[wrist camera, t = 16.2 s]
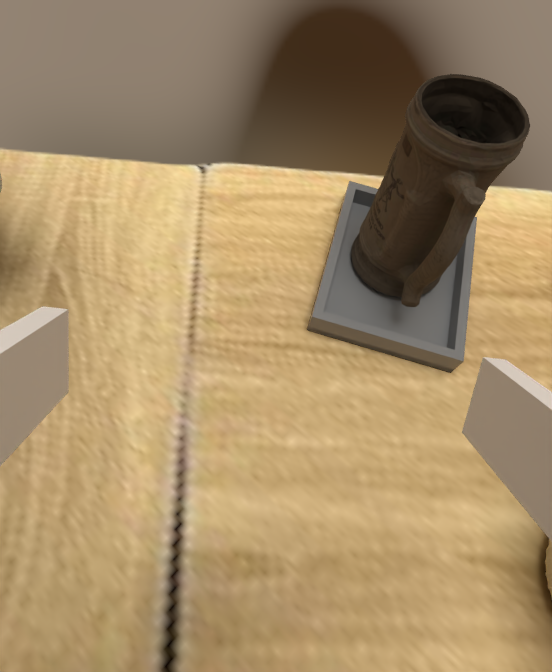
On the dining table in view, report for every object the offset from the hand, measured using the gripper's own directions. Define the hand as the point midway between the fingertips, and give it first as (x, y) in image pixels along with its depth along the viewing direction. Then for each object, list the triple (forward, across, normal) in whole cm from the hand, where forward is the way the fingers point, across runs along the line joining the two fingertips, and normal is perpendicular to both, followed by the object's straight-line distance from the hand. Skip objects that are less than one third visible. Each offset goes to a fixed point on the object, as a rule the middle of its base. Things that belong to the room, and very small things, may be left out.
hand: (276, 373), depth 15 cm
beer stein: (+40, +16, -2) cm, 43 cm away
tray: (+40, +16, -3) cm, 43 cm away
